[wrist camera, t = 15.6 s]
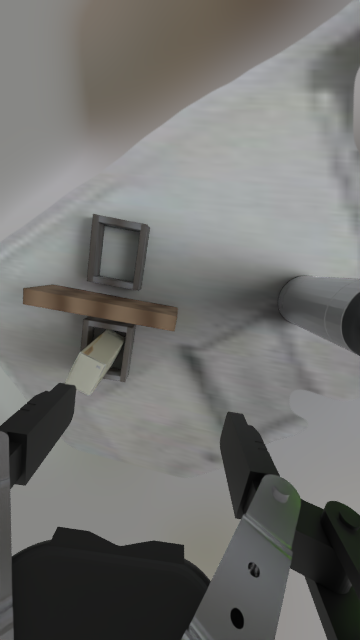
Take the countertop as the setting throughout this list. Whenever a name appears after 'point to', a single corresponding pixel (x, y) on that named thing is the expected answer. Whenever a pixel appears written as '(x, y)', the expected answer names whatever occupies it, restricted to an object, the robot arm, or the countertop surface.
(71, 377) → the skincare box
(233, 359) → the countertop surface
